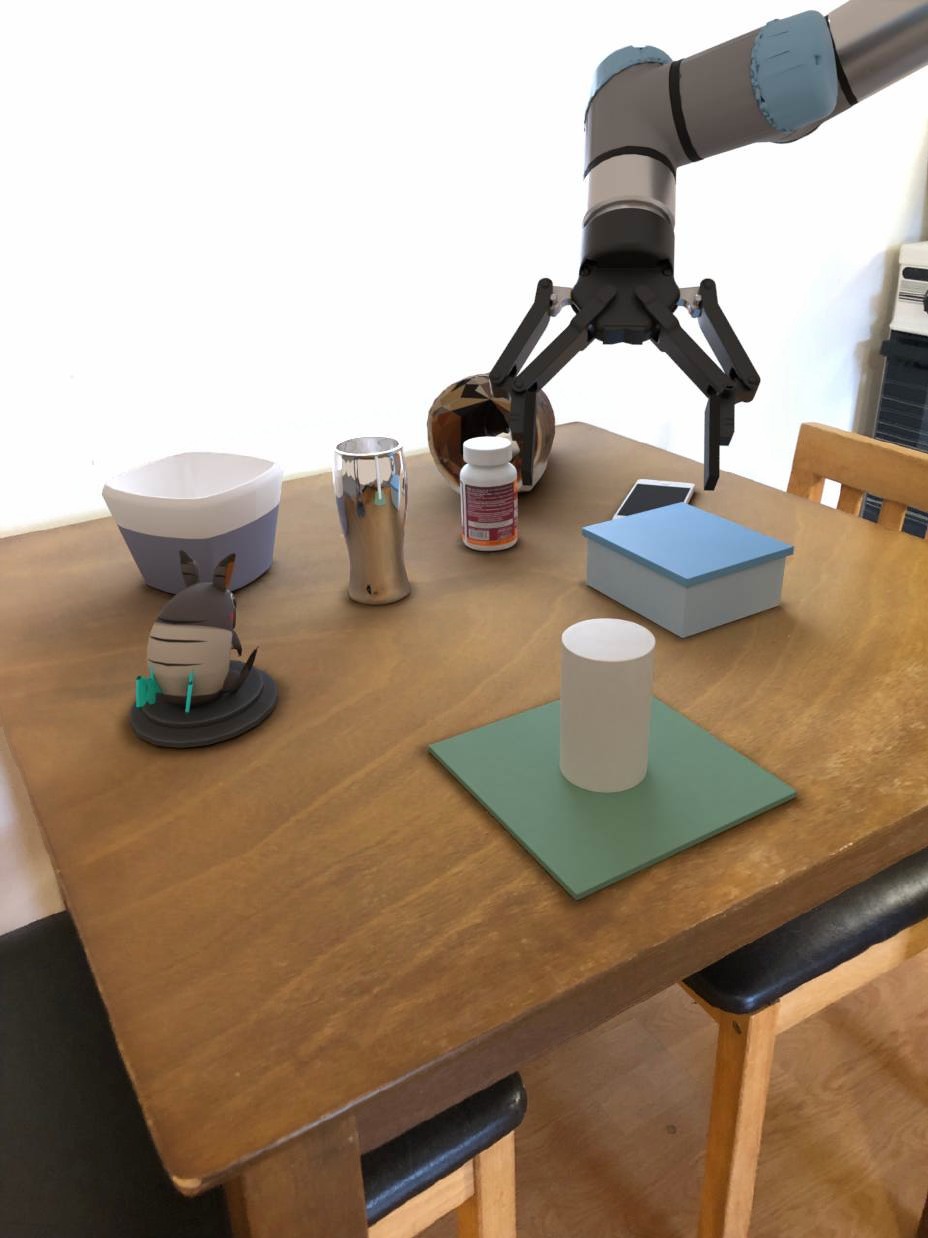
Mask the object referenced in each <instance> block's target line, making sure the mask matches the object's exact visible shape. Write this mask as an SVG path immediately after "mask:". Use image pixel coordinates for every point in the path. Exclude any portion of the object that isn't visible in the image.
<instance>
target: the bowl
mask: <svg viewBox="0 0 928 1238" xmlns="http://www.w3.org/2000/svg"><path fill="white" fill-rule="evenodd" d="M283 477H284V470H283V468H282V466H281V465H280V464H279V463H278V462H277V461H275V460H273V459H272V460H271V459H269V458H265V457H260V456H256V455H250V454H244V453H237V452H236V453H235V452H225V451H208V450H187V451H182V452H179V453H174V454H169V455H167V456H163V457H160V458H157V459H154V460H151V461H148V462H147V463H146V462H145V463H143V464H140V465H138V466H135V467H132V468H130V469H128V470H126V471H124V472H122V473H119V474H117V475H116V476H114V477H112V478H111V479H109V480H108V481H107V482H105V484H104V485H103V488H102V490H101V496H102V498H103V500H104V502H105V504H106V506H107V509H108V510H109V512H110V514H111V517H112V519H113V521H114V523H115V524H116V526H117V528H118V530H119V532H120V534H121V535H122V538H123V540H124V542H125V544H126V546H127V548H128V550H129V552H130V554H131V556H132V558H133V560H134V562H135V565H136V566H137V568H138V571H139V573H140V574H141V577H142V579H143V581H144V583H145V584H146V585H148V586H149V587H152V588H154V589H157V590H159V591H163V592H165V593H169V594H173V595H177V594H178V593H180V592H181V591H183V590H184V589H186V588H187V587H186V585H185V582H184V579H183V575H182V572H181V566H180V554H179V551H180V550H184V551H185V552H186V553H187V554H189V555H190V556H191V557H192V558H193V559H194V560H195V561H196V563H197V564H198V567H199V573H200V582H201V583H205V582H210V583H213V575H214V570H215V568H216V566H217V564H218V563H219V562H220V561H221V560H223V559H224V558H225V557H227V556H228V555H230V554H232V553H235V554H236V557H235V563H234V568H233V572H232V576H231V579H230V583H229V586H228V590H229V591H230V592H231V593H233V592H234V591H237V590H239V589H241V588H243V587H245V586H247V585H248V584H250V583H252V582H254V581H256V580H257V579H258V578H260V577H261V576H262V575H263V574H264V573H265V572H266V571H267V570H269V569H270V567H271V566H272V564H273V559H274V558H273V557H274V551H275V550H274V549H275V543H276V542H275V541H276V534H277V525H278V517H279V507H280V501H281V494H282V485H283Z"/></svg>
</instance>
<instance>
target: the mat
mask: <svg viewBox="0 0 928 1238" xmlns="http://www.w3.org/2000/svg"><path fill="white" fill-rule="evenodd" d="M560 703H561V698H560V699H557V700H554V701H550V702H549V703H545V704H543V705H539V706H537V707H534V708H531V709H528V710H525V711H522V712H520V713H517V714H513V715H511V716H509V717H505V718H503V719H500V720H497V721H495V722H491V723H488V724H485V725H483V726H480V727H477V728H475V729H471V730H469V731H468V730H467V731H466V732H463V733H460V734H457V735H455V736H452V737H448V738H446V739H444V740H440V741H436V742H435V743H432V744H429V745H428V752H429V753H431V754H430V755H432V756H433V757H434V758H435V759H436V760H437V761H438V762H439V763H440V764H441V765H442V766H443V767H444V768H445V769H446V770H447V771H448V772H449V773H450V774H451V775H452V777H454V778H455V779H456V780H457V781H458V782H459V783H460V785H461V786H463V787H464V788H465V790H466V791H468V792H469V794H470V795H471V796H472V797H473V798H475V800H477V802H478V803H479V804H480V805H481V806H483V808H484V809H485V810H486V811H487V812H488V813H489V814H490V815H491V816H493V818H494V819H495V820H496V821H497V822H498V823H499V824H500V825H501V826H502V827H503V828H504V829H505V830H506V831H507V832H508V833H509V834H510V835H511V836H512V837H513V838H514V839H515V840H516V841H517V842H518V843H519V844H520V845H521V847H523V848H524V849H525V850H526V851H527V852H528V853H529V854H530V856H532V858H534V859H535V860H536V862H538V864H540V866H541V867H542V868H543V869H544V870H546V872H547V873H548V874H549V875H550V876H551V877H552V878H553V879H554V880H555V881H556V882H557V883H558V884H559V885H560V886H561V887H562V888H563V889H564V890H565V891H566V892H567V893H568V894H569V895H570V896H571V897H572V898H573V899H574V900H575V901H576V902H577V901H580V900H581V899H583V898H585V897H588V896H590V895H592V894H594V893H596V892H598V891H600V890H602V889H605V888H607V887H609V886H610V885H613V884H615V883H617V882H619V881H621V880H624V879H626V878H628V877H630V876H632V875H634V874H636V873H638V872H641V871H642V870H645V869H647V868H649V867H651V866H653V865H656V864H657V863H659V862H661V861H664V860H666V859H668V858H670V857H672V856H675V855H676V854H678V853H682V852H683V851H685V850H687V849H689V848H691V847H693V846H695V845H698V844H700V843H703V842H704V841H706V840H709V839H710V838H713V837H714V836H717V835H719V834H721V833H723V832H725V831H728V830H730V829H732V828H734V827H736V826H738V825H741V824H742V823H744V822H746V821H749V820H751V819H752V818H754V817H757V816H759V815H761V814H763V813H766V812H768V811H770V810H773V809H774V808H776V807H778V806H781V805H782V804H785V803H787V802H788V801H791V800H793V799H795V798H797V797H798V790H797V789H795V788H793V787H792V786H791V785H789V784H788V783H786V782H784V781H782V780H781V779H780V778H778V777H777V776H775V775H774V774H772V772H771V773H770V772H769V771H768V770H766V769H764V768H763V767H761V766H760V765H759V764H757V763H755V762H754V761H752V759H751V760H750V759H749V758H747V756H744V755H743V754H742V753H741V752H739V751H738V750H736V749H734V748H733V747H731V746H729V745H728V744H727V743H726V742H723V741H722V740H721V739H719V738H717V737H716V736H715V735H713V734H712V733H710V732H709V731H708V730H706V729H704V728H703V727H701V726H699V725H698V724H697V723H695V722H693V721H691V720H690V719H689V718H687V717H686V716H684V715H683V714H681V713H680V712H678V711H676V710H675V709H673V708H672V707H671V706H668V704H666V703H664V702H663V701H661V700H660V699H659V698H657V697H655V696H654V695H652V704H651V719H650V734H649V749H648V764H647V773H646V776H645V778H644V779H643V780H642V781H641V782H640V783H639V784H638V785H636V786H635V787H633V788H631V789H628V790H625V791H621V792H613V793H601V792H593V791H589V790H585V789H582V788H580V787H578V786H576V785H574V784H572V783H571V782H569V781H568V780H567V779H566V778H565V777H564V776H563V774H562V772H561V770H560Z"/></svg>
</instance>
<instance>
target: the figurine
mask: <svg viewBox="0 0 928 1238" xmlns="http://www.w3.org/2000/svg"><path fill="white" fill-rule="evenodd" d="M179 554H180V566H181V572H182V575H183V579H184V582H185V585H186V587H187V588H186V589H184V590H183V591H181V592H180V593H178V594H175V595H174V596H173V597H172V598H171V599H170V600H169V601H168V602H167V603H166V605H165V606H164V607H163V608H162V610H161V611H160V613H159V614H158V615H157V617H156V619H155V620H154V623H153V626H152V628H151V630H150V633H149V637H148V640H147V650H146V663H147V664H146V665H147V670H148V673H149V677H150V678H149V677H145V676H142V675H137V676H136V679H135V681H136V682H135V689H136V690H135V695H136V698H135V701H134V703H133V704H132V705H131V707H130V713H129V725H130V727H131V728H132V730H133V731H134V733H135V734H136V735H137V737H138V738H139V739H141V740H144V741H146V742H149V743H151V744H152V745H155V746H160V747H171V748H178V749H181V748H182V749H183V748H190V747H201V746H209V745H212V744H216V743H219V742H223V741H226V740H229V739H233V738H236V737H237V736H240V735H241V734H243V733H245V732H246V731H248V730H251V729H253V728H254V727H256V726H258V725H259V724H260V723H261V722H262V721H263V720H264V719H265V718H266V717H268V716H269V715H270V714H271V713H273V710H274V708H275V706H276V703H277V701H278V699H279V694H278V693H279V692H278V687H277V681H276V679H274V678H273V677H272V676H271V675H270V674H269V673H268V671H266V670H263V669H261V668H258V667H256V666H254V663H255V660H256V657H257V653H258V649H259V647H260V645H258V646H257V647H256V648H255V649H253V651H252V652H251V653H250V655H249V657H248V659H247V660H246V662H244V661H242V660H239V659H238V660H236V659H231V655H232V654H231V653H232V650H236V651H237V654H238V655H237V657H238V658H240V657H242V656H243V655H242V653H243V646H242V643H241V640H240V638H239V637H238V633H237V632H236V631H235V630H234V629H235V628H236V624H237V610H236V609H237V605H238V604H237V598H236V596H235V595H234V594H233V592H230V591H229V590H228V586H229V583H230V579H231V576H232V572H233V568H234V563H235V557H236V554H235V553H232V554H230V555H228V556H227V557H225V558H224V559H223V560H221V561H220V562H219V563H218V564H217V566H216V568H215V570H214V575H213V583H210V582H205V583H201V582H200V573H199V567H198V564H197V563H196V561H195V560H194V559H193V558H192V557H191V556H190V555H189V554H187V553H186V552H185V551H184V550H180V551H179Z"/></svg>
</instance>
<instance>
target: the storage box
mask: <svg viewBox="0 0 928 1238" xmlns="http://www.w3.org/2000/svg"><path fill="white" fill-rule="evenodd" d="M581 535H582V536H583V537H584V538H587V553H586V582H585V583H586V585H587V586H589V587H591V588H593V589H594V590H596V591H598V592H599V593H601V594H603V595H605V596H607V597H608V598H610V599H612V600H614V601H616V602H617V603H618V604H621V605H622V606H624V607H627V609H630V610H631V611H633V612H635V613H637V614H639V615H640V616H642V617H644V618H646V619H647V620H649V621H651V622H652V623H655V624H656V625H658V626H660V627H661V628H663V629H665V630H666V631H669V632H671V633H673V634H674V635H676V636H678V637H679V638H681V639H685V638H688V637H691V636H693V635H697V634H700V633H702V632H705V631H708V630H711V629H715V628H718V627H720V626H723V625H726V624H729V623H732V622H735V621H737V620H742V619H743V618H746V617H749V616H752V615H756V614H759V613H762V612H765V611H767V610H770V609H772V608H773V609H774V608H776V607H779V606H780V605H781V599H782V590H783V585H784V583H783V582H784V577H785V575H784V574H785V567H786V560H787V557H789V556H792V555H794V551H795V550H794V549H795V546H794V545H791V544H789V543H787V542H784V541H781V540H779V539H776V538H774V537H771V536H769V535H766V534H763V533H761V532H759V531H756V530H753V529H751V528H749V527H746V526H744V525H741V524H739V523H736V522H735V521H734V522H733V521H731V520H729V519H726V518H724V517H721V516H719V515H716V514H714V513H712V512H709V511H707V510H705V509H704V510H703V509H701V508H698V507H696V506H693V505H691V504H689V503H688V504H686V503H683V502H680V503H677V504H673V505H669V506H665V507H661V508H657V509H653V510H649V511H645V512H641V513H638V514H634V515H630V516H626V517H622V518H618V519H614V520H612V519H610V520H606V521H603V522H598V523H595V524H591V525H586V526H584V527H581Z"/></svg>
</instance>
